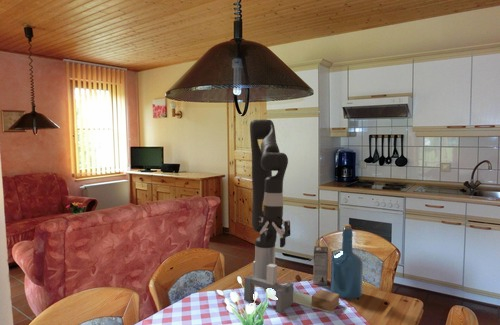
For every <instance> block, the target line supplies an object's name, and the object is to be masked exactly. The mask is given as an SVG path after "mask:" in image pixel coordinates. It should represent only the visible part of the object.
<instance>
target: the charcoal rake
mask: <svg viewBox="0 0 500 325" xmlns="http://www.w3.org/2000/svg"><path fill="white" fill-rule="evenodd" d="M277 282H278V264H275V265H274V264H269V265H267V277H266V280H263V279H259V278H255V277H253V275H247V276H245V277H244V282H243V284H244V286H243V287H244V288H243V290H244V291H243V300H246V301H249V302H251V301H253V300H254V299H253V294H254V295H255V286H258V287H262V288H265V289H268V288H272V289H274V290H273V291H275V298H276V297H277V298H278V300H276V299H275V312H277V313H280V314H281V313H282V312H284V311H285V310H286V309H287V308H289V307H291V305H293V304H294V302H293V292H294V282H291V281H289V282H287V283H285V284H281V283H277Z"/></svg>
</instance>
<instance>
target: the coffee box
mask: <svg viewBox="0 0 500 325" xmlns="http://www.w3.org/2000/svg"><path fill="white" fill-rule="evenodd" d="M328 266H329V247H328V246H318V245H315V246H314V247H313V268H312V269H313V274H312V275H313V276H312V277H313V278H312V279H313V280H312V284H313V285H321V286H328V275H329V274H328V271H329V268H328Z"/></svg>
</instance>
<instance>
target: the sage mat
mask: <svg viewBox="0 0 500 325" xmlns="http://www.w3.org/2000/svg"><path fill="white" fill-rule="evenodd" d="M293 304H299V305H302V306H306V307H309V308H312V309H315V310H319V311H321V312H327V313H329V314H331V312H333V311H331V312H330V311H327V310H323V309H320V308H316V307H313V306H312V295H311V294H307V293H303V292H299V291H296V290H295V291H294V290H293ZM339 305H340V302H339Z"/></svg>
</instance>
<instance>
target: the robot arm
mask: <svg viewBox="0 0 500 325" xmlns="http://www.w3.org/2000/svg"><path fill="white" fill-rule="evenodd" d="M249 133H250V134H249V136H250V148H251V183H252V204H251V205H252V206H251V207H252V210H251V225H252V228H253V230H254V231H255V232H256V233H259V234H260V236H259V237H257V238H255V242H254V260H253V261H252V276H253V277H255V278H259V279H263V280H266V277H267V265H269V264H274V265H276V242H277V237H278V236H277V234H278V235H279V236H280V237H279V247H280V248H284V247H285V246H286V238H287V237H290V236H291V221H290V220H289V219H288V220H284V219H283V215H284V189H283V188H284V187H283V186H284V179H285V174H286V171H287V168H288V165H289V158H288V155H287V154H286V153H284V152H280V148H279V146H278V143H277V137H276V129H275V124H274V122H273V121H272V120H271V119H252V120H250V124H249ZM260 140H262V141H261V143H260V145H259V141H260ZM273 172H277V173H276V174H275V175H273Z"/></svg>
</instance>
